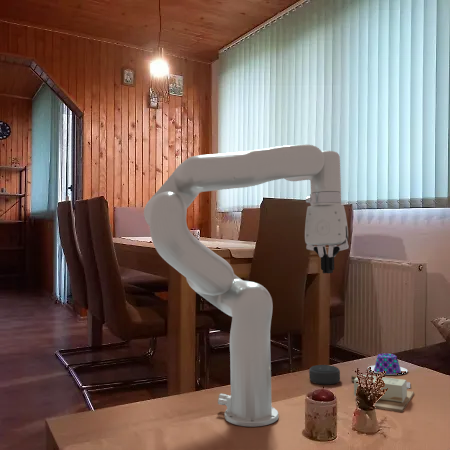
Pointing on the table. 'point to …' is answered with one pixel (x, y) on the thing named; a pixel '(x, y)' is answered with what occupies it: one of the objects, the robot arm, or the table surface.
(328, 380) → the smart speaker
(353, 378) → the trowel prop
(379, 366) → the pudding
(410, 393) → the beige flat slab
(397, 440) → the table surface
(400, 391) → the skincare box
